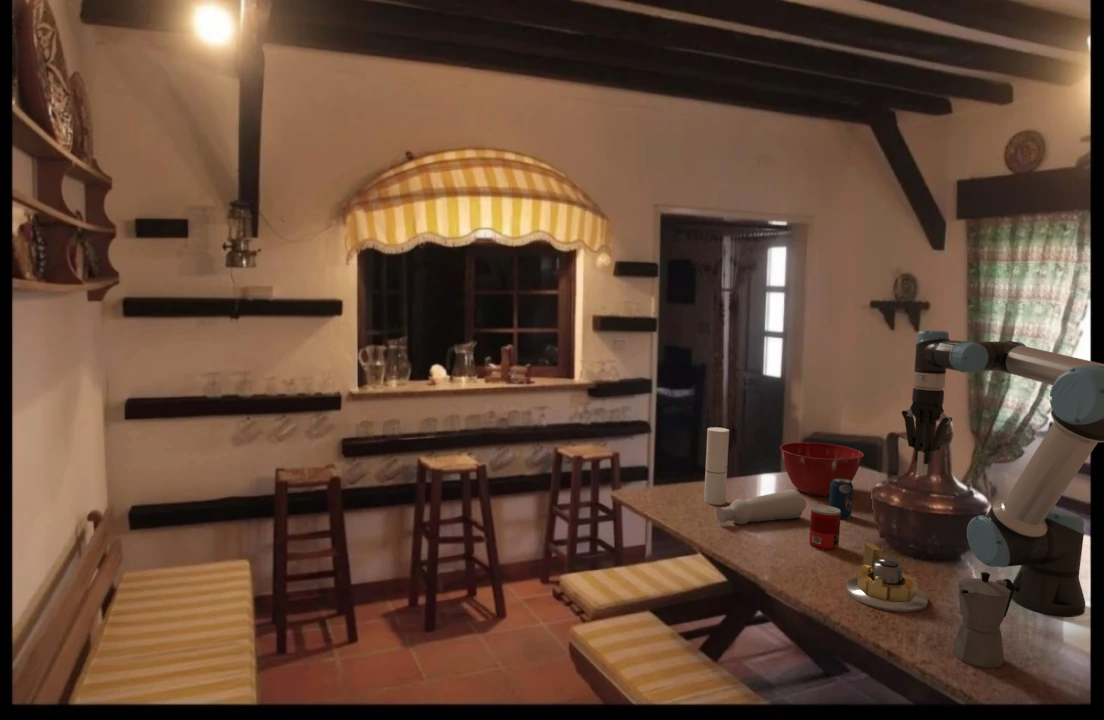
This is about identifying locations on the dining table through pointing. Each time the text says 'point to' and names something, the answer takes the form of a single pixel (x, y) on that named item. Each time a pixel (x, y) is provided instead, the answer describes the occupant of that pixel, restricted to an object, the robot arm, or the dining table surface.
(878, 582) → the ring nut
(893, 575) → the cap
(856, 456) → the mixing bowl
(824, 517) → the canned food
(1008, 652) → the dining table surface
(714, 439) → the cylindrical container
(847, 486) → the soda can
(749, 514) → the bottle
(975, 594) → the coffeepot
